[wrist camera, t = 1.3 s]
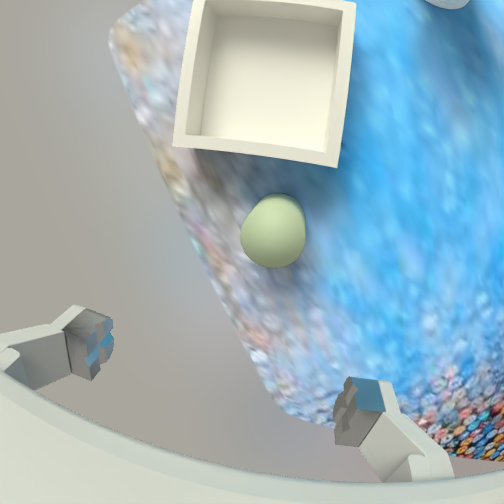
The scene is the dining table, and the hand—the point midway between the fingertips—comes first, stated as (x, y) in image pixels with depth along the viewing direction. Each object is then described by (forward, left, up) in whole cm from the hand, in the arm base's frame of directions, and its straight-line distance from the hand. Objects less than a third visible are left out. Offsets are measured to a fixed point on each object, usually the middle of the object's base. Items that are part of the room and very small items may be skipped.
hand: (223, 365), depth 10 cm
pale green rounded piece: (0, 0, -22) cm, 22 cm away
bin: (+2, -13, -22) cm, 25 cm away
